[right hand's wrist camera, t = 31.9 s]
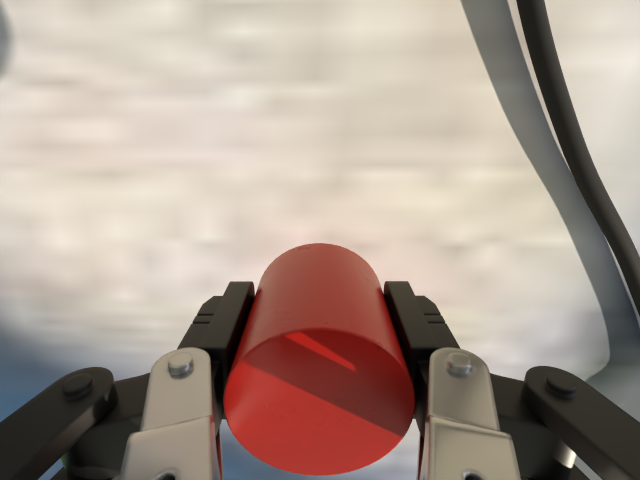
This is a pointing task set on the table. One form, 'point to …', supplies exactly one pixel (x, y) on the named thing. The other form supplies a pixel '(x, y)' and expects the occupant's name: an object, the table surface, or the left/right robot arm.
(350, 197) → the table surface
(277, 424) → the canister
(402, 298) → the right robot arm
